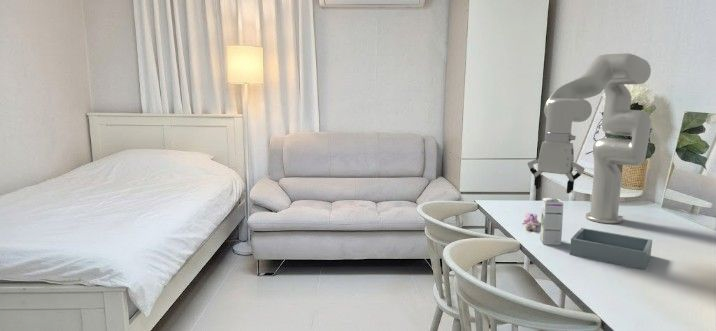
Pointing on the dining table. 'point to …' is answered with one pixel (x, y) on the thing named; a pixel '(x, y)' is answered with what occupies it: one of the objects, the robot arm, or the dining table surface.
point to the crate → (611, 248)
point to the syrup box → (551, 221)
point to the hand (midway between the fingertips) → (553, 190)
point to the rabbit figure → (531, 222)
